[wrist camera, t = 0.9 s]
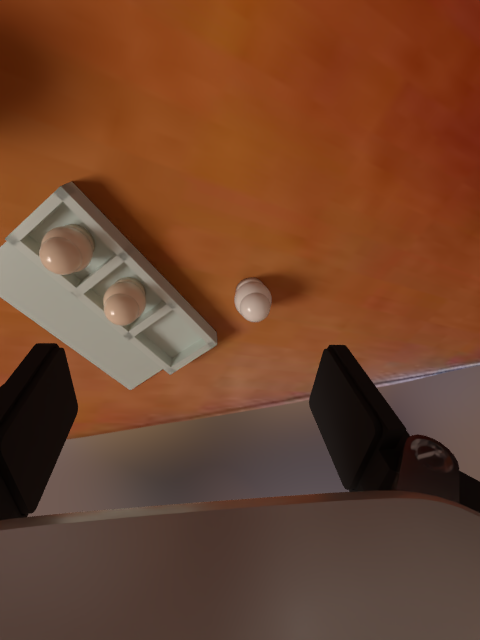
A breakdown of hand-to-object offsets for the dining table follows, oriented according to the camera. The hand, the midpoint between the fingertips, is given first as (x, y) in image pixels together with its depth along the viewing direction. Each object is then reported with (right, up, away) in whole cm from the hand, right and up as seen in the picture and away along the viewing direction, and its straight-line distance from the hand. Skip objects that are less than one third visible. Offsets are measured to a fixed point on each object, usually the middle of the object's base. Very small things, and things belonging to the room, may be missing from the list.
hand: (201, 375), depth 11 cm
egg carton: (-16, +4, +29) cm, 33 cm away
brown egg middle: (-12, +6, +27) cm, 30 cm away
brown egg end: (-17, +11, +23) cm, 31 cm away
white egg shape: (+3, +6, +30) cm, 31 cm away
